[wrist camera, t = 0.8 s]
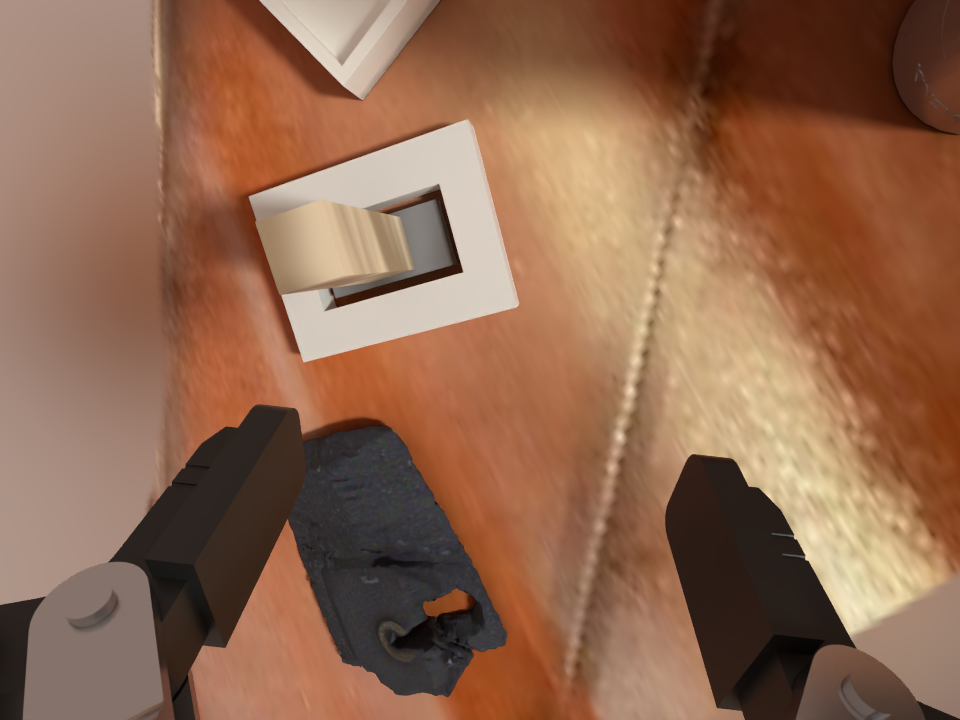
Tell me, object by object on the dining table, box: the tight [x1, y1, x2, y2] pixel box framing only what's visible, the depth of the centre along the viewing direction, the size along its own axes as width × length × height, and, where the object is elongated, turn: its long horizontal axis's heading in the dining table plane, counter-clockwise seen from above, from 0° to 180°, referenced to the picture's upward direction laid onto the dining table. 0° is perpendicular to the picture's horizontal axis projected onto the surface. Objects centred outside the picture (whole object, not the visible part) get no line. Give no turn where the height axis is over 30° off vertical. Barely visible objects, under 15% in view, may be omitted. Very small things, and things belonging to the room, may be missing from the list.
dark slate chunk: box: [288, 426, 507, 697], centre depth 39 cm, size 15×22×5 cm
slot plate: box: [249, 119, 519, 362], centre depth 34 cm, size 16×12×2 cm
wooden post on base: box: [255, 199, 457, 298], centre depth 30 cm, size 9×4×12 cm, turn 105°
